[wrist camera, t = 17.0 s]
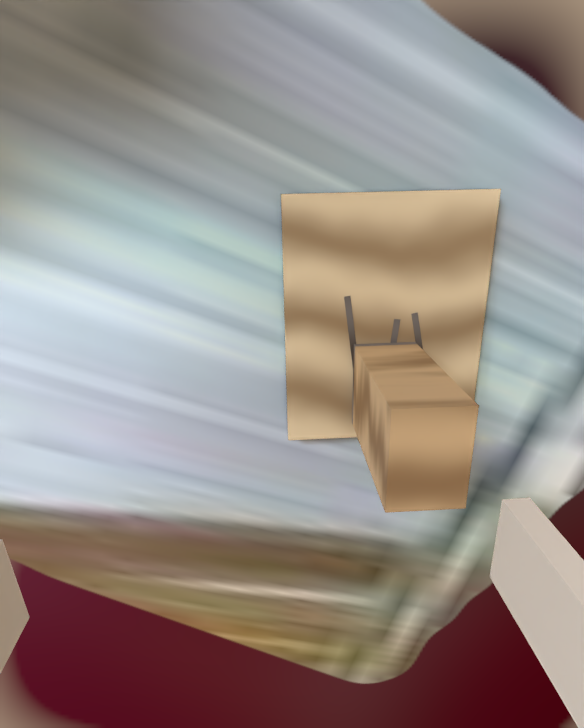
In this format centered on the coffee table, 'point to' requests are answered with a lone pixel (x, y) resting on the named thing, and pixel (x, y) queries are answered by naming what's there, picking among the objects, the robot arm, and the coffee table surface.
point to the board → (380, 290)
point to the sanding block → (412, 427)
